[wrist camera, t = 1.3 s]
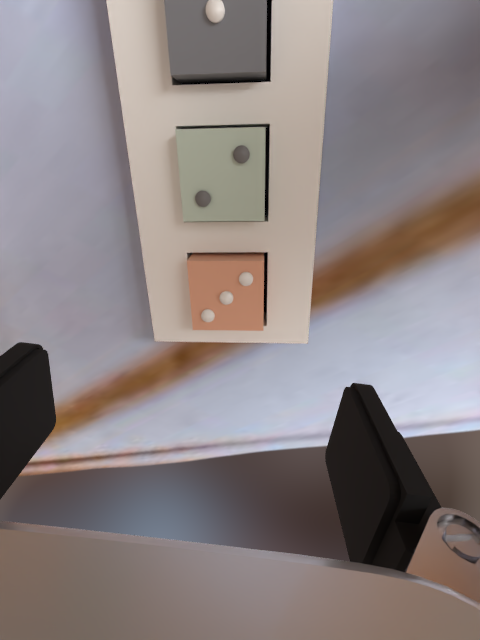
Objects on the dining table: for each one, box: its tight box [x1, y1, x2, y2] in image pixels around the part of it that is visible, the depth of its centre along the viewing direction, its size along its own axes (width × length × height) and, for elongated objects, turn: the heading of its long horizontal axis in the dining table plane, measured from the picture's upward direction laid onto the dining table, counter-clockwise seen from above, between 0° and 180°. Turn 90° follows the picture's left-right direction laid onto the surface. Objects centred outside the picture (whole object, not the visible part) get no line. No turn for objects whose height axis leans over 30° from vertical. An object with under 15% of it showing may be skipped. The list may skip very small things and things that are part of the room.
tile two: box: [175, 127, 266, 222], centre depth 25 cm, size 6×6×3 cm
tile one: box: [164, 0, 267, 83], centre depth 21 cm, size 6×6×3 cm
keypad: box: [106, 0, 333, 344], centre depth 27 cm, size 14×28×3 cm, turn 1°
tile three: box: [187, 252, 264, 331], centre depth 29 cm, size 6×6×3 cm
